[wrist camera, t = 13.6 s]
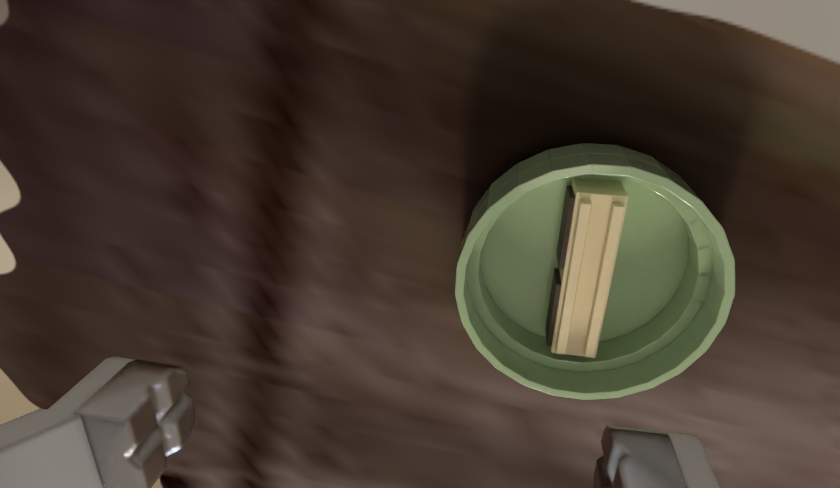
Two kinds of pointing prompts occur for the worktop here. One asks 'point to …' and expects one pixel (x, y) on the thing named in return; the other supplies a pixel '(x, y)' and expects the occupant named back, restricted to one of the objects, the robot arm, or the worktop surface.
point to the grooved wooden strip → (584, 265)
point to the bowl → (630, 286)
